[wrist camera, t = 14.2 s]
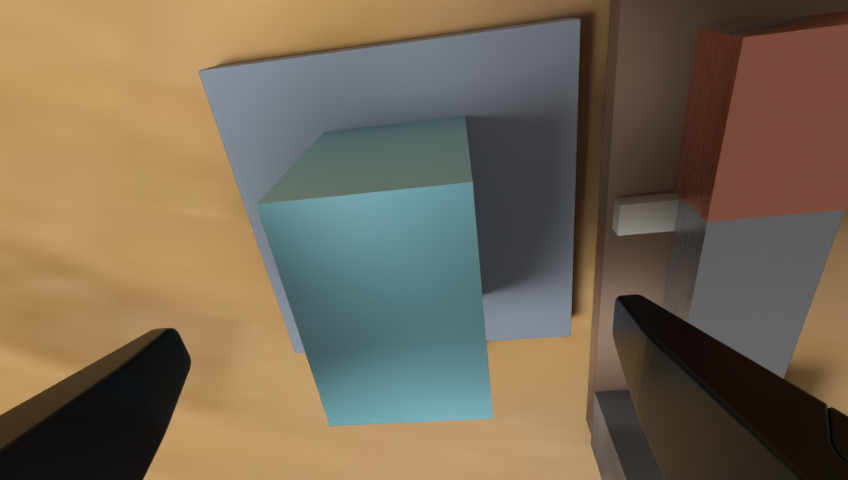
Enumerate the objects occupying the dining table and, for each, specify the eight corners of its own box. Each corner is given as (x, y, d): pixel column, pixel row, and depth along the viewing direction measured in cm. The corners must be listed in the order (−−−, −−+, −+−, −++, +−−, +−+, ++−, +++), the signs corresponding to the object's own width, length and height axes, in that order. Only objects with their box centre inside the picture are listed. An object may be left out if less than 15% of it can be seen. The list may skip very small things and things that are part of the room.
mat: (564, 318, 17) (570, 335, 16) (302, 335, 18) (294, 353, 17) (571, 17, 12) (580, 19, 11) (215, 65, 13) (197, 70, 12)
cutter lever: (723, 441, 17) (751, 488, 15) (635, 444, 17) (653, 490, 16) (852, 8, 10) (929, 14, 8) (698, 29, 10) (743, 37, 9)
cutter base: (735, 421, 19) (809, 533, 15) (585, 428, 19) (619, 536, 15) (867, -47, 11) (1095, -70, 7) (611, -10, 12) (691, -14, 8)
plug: (486, 362, 16) (499, 495, 12) (379, 368, 17) (354, 499, 13) (464, 115, 12) (472, 181, 8) (323, 132, 13) (255, 204, 8)
